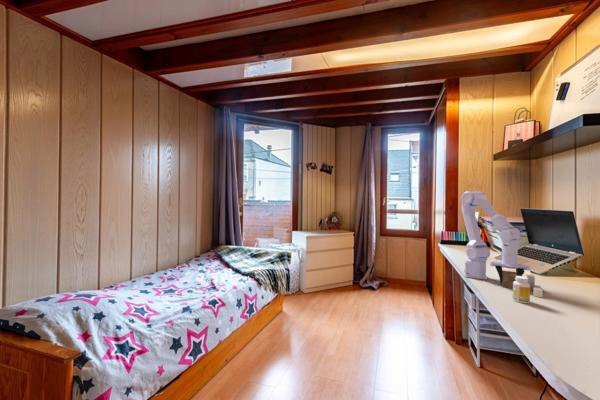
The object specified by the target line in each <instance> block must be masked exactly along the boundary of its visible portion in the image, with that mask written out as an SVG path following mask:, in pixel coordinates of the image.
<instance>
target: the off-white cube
mask: <svg viewBox="0 0 600 400" xmlns="http://www.w3.org/2000/svg"><path fill="white" fill-rule="evenodd" d="M541 288H542V287H541ZM541 288H535V287H533V291H532V293H533V296H534V297H539V298H543V295H544V293H543V291H544V289H543V288H542V289H543V290H542V289H541Z"/></svg>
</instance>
